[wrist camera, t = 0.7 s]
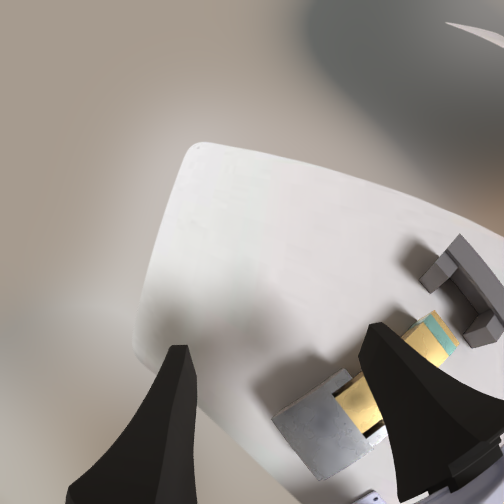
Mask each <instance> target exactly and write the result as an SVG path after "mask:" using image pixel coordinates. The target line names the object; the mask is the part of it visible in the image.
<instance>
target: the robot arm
mask: <svg viewBox="0 0 504 504" xmlns="http://www.w3.org/2000/svg"><path fill="white" fill-rule="evenodd" d="M358 358H359V361H360V364H361V368H362V371H363V374H364V377H365V380H366V382H367V384H368V386H369V389H370V391H371V393H372V395H373V397H374V400H375V402H376V404H377V406H378V409H379V411H380V413H381V416H382V418H383V421H384V423H385V426H386V430H387V434H388V437H389V441H390V445H391V450H392V454H393V459H394V465H395V471H396V480H397V496H398V499H399V502H400V503H402V502H405V501H407V500H409V499H412V498H414V497H416V496H418V495H420V494H422V493H424V492H426V491H428V493H429V496H428V497H426V498H424V499H422V500H420V501H418V502H416V503H414V504H503V503H504V444H503V445H502V446H501V447H499V445H498V444H499V443H501V438H500V435H502V434H503V433H504V400H501V399H498V398H494V397H492V396H489V395H487V394H484V393H482V392H479V391H477V390H475V389H473V388H471V387H469V386H467V385H465V384H463V383H461V382H459V381H458V380H456V379H454V378H453V377H451V376H450V375H448V374H446V373H445V372H443V371H442V370H441V369H439V368H438V367H436V366H435V365H434V364H432V363H431V362H430V361H428V360H427V359H426V358H424V357H423V356H422V355H421V354H419V353H418V352H417V351H416V350H415V349H413V348H412V347H411V346H410V345H409V344H407V343H406V342H405V341H404V340H403V339H402V338H400V337H399V336H398V335H397V334H396V333H395V332H393V331H392V330H391V329H390V328H389V327H387V326H386V325H385V324H384V323H382V322H379V323H374V324H369V327H368V330H367V333H366V336H365V339H364V342H363V344H362V347H361V350H360V353H359V355H358ZM196 407H197V376H196V373H195V369H194V366H193V363H192V359H191V356H190V352H189V348H188V345H172V346H171V347H170V348H169V350H168V353H167V355H166V357H165V360H164V362H163V364H162V366H161V368H160V370H159V372H158V375H157V377H156V378H155V380H154V383H153V384H152V386H151V388H150V390H149V392H148V394H147V395H146V397H145V399H144V400H143V402H142V404H141V405H140V407H139V409H138V410H137V412H136V414H135V415H134V417H133V418H132V420H131V421H130V423H129V424H128V425H127V427H126V428H125V429H124V431H123V432H122V433H121V435H120V436H119V437H118V439H117V440H116V441H115V442H114V444H113V445H112V446H111V447H110V448H109V449H108V451H107V452H106V453H105V454H104V455H103V456H102V457H101V458H100V459H99V460H98V461H97V462H96V463H95V464H94V465H93V466H92V467H91V468H90V469H89V470H88V471H87V472H85V473H84V474H83V475H82V476H81V477H80V478H78V479H77V480H76V481H75V482H73V483H72V484H71V485H70V486H69V487H68V491H67V495H66V503H65V504H197V497H196V487H195V476H194V459H193V446H194V432H195V419H196ZM375 497H378V498H377V499H375V500H373V499H374V498H375ZM352 504H387V503H386V502H385V501H384V500H383V499H382V498H381V496H380V495H379V494H378V493H377V492H375V491H374V492H371V493H369V494H368V495H366V496H364V497H363V498H361V499H359V500H358V501H356V502H354V503H352Z"/></svg>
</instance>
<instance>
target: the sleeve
mask: <svg viewBox="0 0 504 504" xmlns="http://www.w3.org/2000/svg"><path fill="white" fill-rule="evenodd" d="M351 379H352V377H351V375H350V374H349V373H348V372H347V370H346V369H340V370H339V371H337V372H336V373H335V374H333V375H332V376H331V377H329V378H328V379H327V380H325V381H324V382H322V383H321V384H320V385H318V386H317V387H315V388H314V389H313V390H311V391H310V392H308V393H307V394H305V395H304V396H302V397H301V398H299V399H298V400H296V401H295V402H293V403H292V404H290V405H288V406H287V407H285V408H284V409H282V410H281V411H279V412H278V413H277V414H276V415H275V416H274V417H273V418H272V419H271V420H272V421H273V423H274V424H275V425H276V427H277V428H278V430H279V431H280V432H281V434H282V435H283V436H284V438H285V439H286V440H287V442H288V443H289V444H290V446H291V447H292V448H293V450H294V451H295V452H296V453H297V455H298V456H299V457H300V458H301V460H302V461H303V462H304V464H305V465H306V466H307V467H308V469H309V470H310V471H311V472H312V473H313V475H314V476H315V477H316V478H317V479H318V481H320V480H321V479H323V480H326V479H328V478H329V477H331V476H333V475H335V474H336V473H338V472H340V471H341V470H343V469H345V468H346V467H348V466H349V465H351V464H352V463H354V462H356V461H357V460H359V459H360V458H362V457H363V456H364V455H366V454H367V453H369V452H370V451H372V450H373V449H374V448H373V446H375V445H376V444H377V443H379V442H380V441H381V440H383V439H384V438H385V437H387V436H388V434H387V430H386V426H385V423H384V421H383V420H382V419H381V420H380V421H378V422H377V423H376V424H374V425H373V426H372V427H370V428H369V429H368V430H366V431H365V432H364V433H361V432H360V430H359V429H358V428H357V426H356V425H355V424H354V423H353V421H352V420H351V419H350V417H349V416H348V415H347V413H346V412H345V411H344V410H343V408H342V407H341V406H340V404H339V403H338V402H337V400H336V399H335V398H334V396H333V395H332V393H333V392H335V391H336V390H338V389H339V388H340V387H342V386H343V385H344V384H346V383H347V382H348V381H350V380H351Z"/></svg>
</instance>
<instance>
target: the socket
mask: <svg viewBox="0 0 504 504" xmlns="http://www.w3.org/2000/svg"><path fill="white" fill-rule="evenodd" d="M449 278H451V279H452V280H453V282H454V283H455V284H456V285H457V287H458V288H459V289H460V290H461V292H462V293H463V294H464V295H465V297H466V298H467V299H468V301H469V302H470V303H471V304H472V306H473V307H474V308H475V310H476V311H477V313H478V314H479V315H478V316H477V318H476V319H475V320H474V322H473V323H472V324H471V326H470V327H469V328H468V329H467V331H466V332H465V333H464V334H463V336H464V338H465V339H466V341H467V342H468V343H469V345H470V346H471V348H476V347H480V346H484V345H487V344H491V343H495V342H497V340H498V339H499V338H500V336H501V335H502V333H503V332H504V287H503V285H502V284H501V283H500V281H499V280H498V279H497V277H496V276H495V275H494V273H493V272H492V271H491V269H490V268H489V267H488V266H487V264H486V263H485V262H484V261H483V259H482V258H481V257H480V256H479V255H478V253H477V252H476V251H475V250H474V249H473V248H472V246H471V245H470V244H469V243H468V242H467V241H466V240H465V239H464V237H463V236H462V235H461V234H459V235H458V236H457V237H456V239H455V240H454V241H453V242H452V243H451V244H450V246H449V247H448V248H447V249H446V250H445V251H444V253H443V254H442V255H441V256H440V257H439V258H438V259H437V260H436V261H435V263H434V264H433V265H432V266H431V267H430V268H429V269H428V271H427V272H426V273H425V274H424V275H423V276H422V277H421V278H420V279H419V281H420V282H421V283H422V284H423V285H424V287H425V288H426V289H427V290H428V291H429V293H430V294H431V293H432V292H434V291H435V290H436V289H437V288H438V287H439V286H441V285H442V284H443V283H444V282H445V281H446V280H447V279H449Z"/></svg>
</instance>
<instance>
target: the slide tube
mask: <svg viewBox="0 0 504 504" xmlns="http://www.w3.org/2000/svg"><path fill="white" fill-rule="evenodd" d="M401 338H402V339H403V340H404V341H405V342H406V343H407V344H409V345H410V346H411V347H412V348H413V349H415V350H416V351H417V352H418V353H419V354H421V355H422V356H423V357H424V358H426V359H427V360H428V361H430V362H431V363H432V364H434V365H435V366H436V367H439V366H440V365H441V364H442V363H443V362H444V361H445V359H446V358H447V357H448V356H450V355H451V354H452V353H453V351H454V350H455V349H456V347H457V346H458V345H459V342H458V340H457V339H456V338H455V336H454V335H453V334H452V332H451V331H450V330H449V328H448V327H447V326H446V324H445V323H444V322H443V320H442V319H441V318H440V317H439V315H438V314H437V313H436V312H435V310H434V311H432V312H431V313H429V314H427V315H426V316H424V317H423V318H421V319H419V320H418V321H417V322H416V323H414V324H413V325H412V326H411V327H410V328H409V329H408V331H407V332H406V333H405V334H404V335H403V336H402V337H401ZM332 395H333V396H334V398H335V399H336V400H337V402H338V403H339V404H340V406H341V407H342V408H343V410H344V411H345V412H346V413H347V415H348V416H349V417H350V419H351V420H352V421H353V423H354V424H355V425H356V426H357V428H358V429H359V430H360V432H361V433H364V432H365V431H366V430H368V429H369V428H370V427H372V426H373V425H374V424H376V423H377V422H378V421H380V420H381V419H382V416H381V413H380V411H379V409H378V406H377V404H376V402H375V400H374V397H373V395H372V393H371V391H370V389H369V386H368V384H367V382H366V380H365V377H364V374H363V371H362V372H360V373H359V374H358V375H357V376H355V377H354V378H353V379H351V380H350V381H349V382H348V383H346V384H345V385H344V386H342V387H341V388H340V389H338V390H337V391H336V392H334V393H333V394H332Z"/></svg>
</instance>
